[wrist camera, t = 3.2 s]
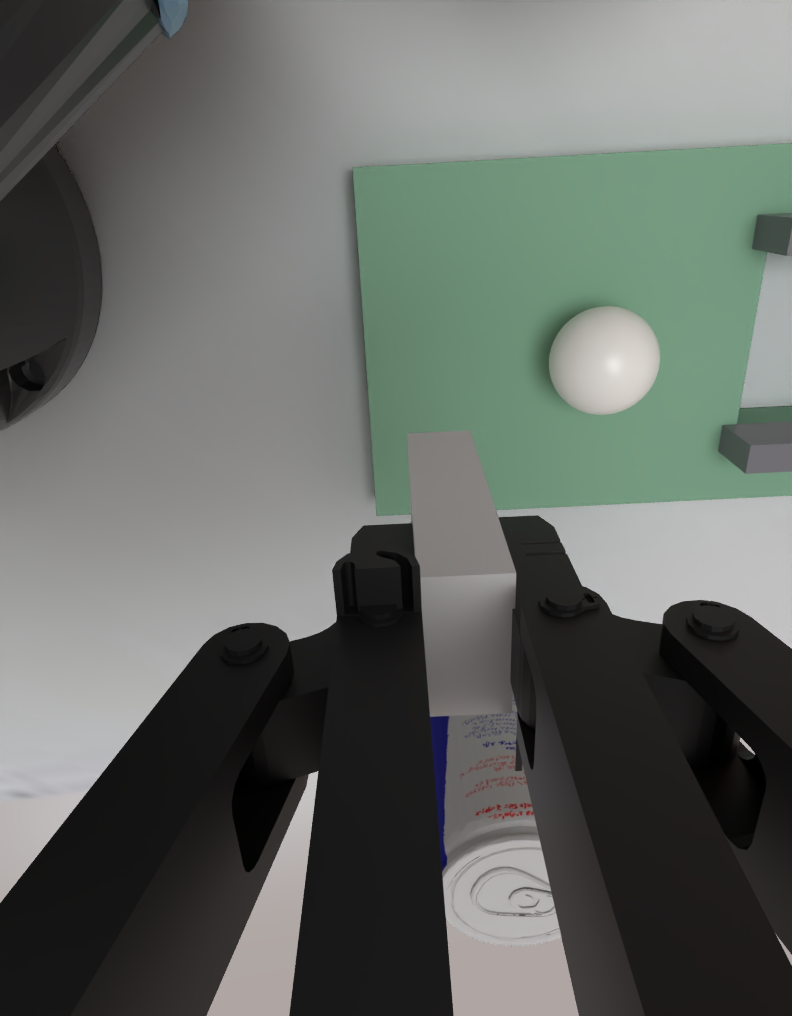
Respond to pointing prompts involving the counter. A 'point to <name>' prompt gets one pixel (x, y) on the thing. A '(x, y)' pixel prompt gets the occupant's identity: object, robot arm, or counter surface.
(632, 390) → the ball
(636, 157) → the green mat
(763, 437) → the grey u-shaped bracket
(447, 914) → the beverage can
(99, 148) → the counter surface
